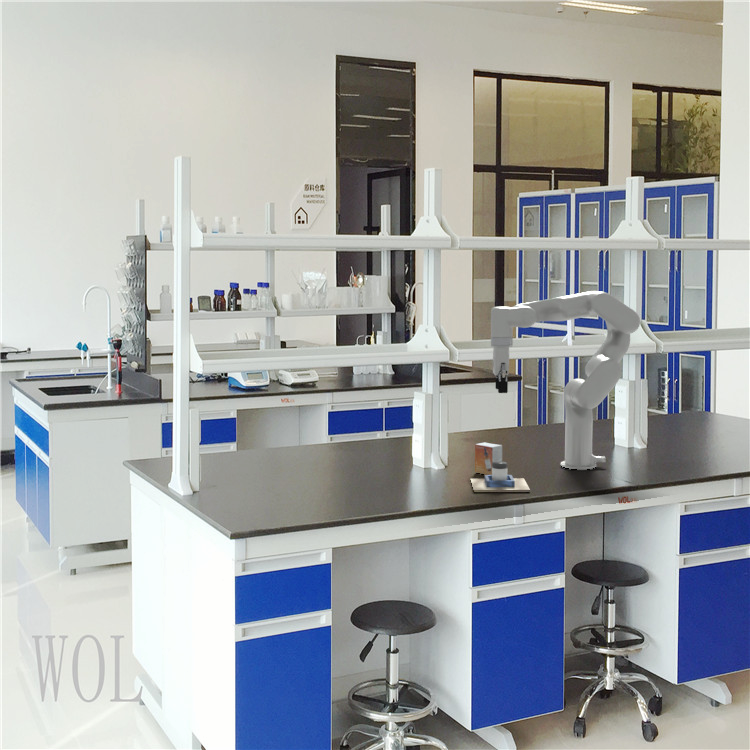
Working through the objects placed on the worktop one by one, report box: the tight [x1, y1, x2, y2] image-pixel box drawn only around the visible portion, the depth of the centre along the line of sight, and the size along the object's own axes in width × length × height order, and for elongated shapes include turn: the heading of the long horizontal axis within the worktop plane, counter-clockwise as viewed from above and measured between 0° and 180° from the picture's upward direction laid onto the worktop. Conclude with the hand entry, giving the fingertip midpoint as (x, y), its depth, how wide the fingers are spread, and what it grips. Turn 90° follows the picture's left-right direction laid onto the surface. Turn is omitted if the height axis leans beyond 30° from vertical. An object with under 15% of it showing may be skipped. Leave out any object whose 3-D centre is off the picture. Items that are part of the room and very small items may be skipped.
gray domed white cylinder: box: [492, 460, 508, 480], centre depth 323 cm, size 5×5×7 cm
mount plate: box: [469, 474, 531, 491], centre depth 324 cm, size 18×16×3 cm
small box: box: [474, 441, 503, 475], centre depth 342 cm, size 8×6×10 cm
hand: (501, 390), depth 345 cm, fingers open, 9 cm apart
